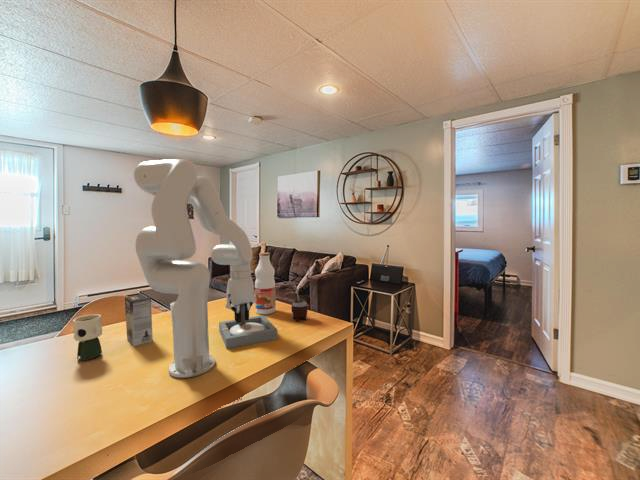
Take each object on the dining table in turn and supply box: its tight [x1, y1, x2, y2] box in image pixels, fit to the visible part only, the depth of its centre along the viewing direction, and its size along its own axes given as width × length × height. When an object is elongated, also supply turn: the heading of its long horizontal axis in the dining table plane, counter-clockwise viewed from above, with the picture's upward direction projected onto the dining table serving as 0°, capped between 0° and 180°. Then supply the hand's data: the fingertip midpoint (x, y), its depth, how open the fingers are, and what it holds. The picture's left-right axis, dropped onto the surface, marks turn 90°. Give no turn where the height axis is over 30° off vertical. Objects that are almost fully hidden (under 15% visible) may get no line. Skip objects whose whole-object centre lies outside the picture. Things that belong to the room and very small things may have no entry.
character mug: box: [72, 313, 103, 361], centre depth 93 cm, size 11×7×13 cm, turn 70°
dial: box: [230, 304, 264, 336], centre depth 111 cm, size 13×13×9 cm
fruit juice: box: [254, 251, 277, 315], centre depth 138 cm, size 9×9×28 cm
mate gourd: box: [290, 282, 309, 323], centre depth 127 cm, size 8×8×15 cm
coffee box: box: [124, 293, 154, 347], centre depth 106 cm, size 9×6×16 cm
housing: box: [218, 314, 279, 350], centre depth 111 cm, size 18×18×4 cm
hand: (242, 320), depth 115 cm, fingers open, 2 cm apart
